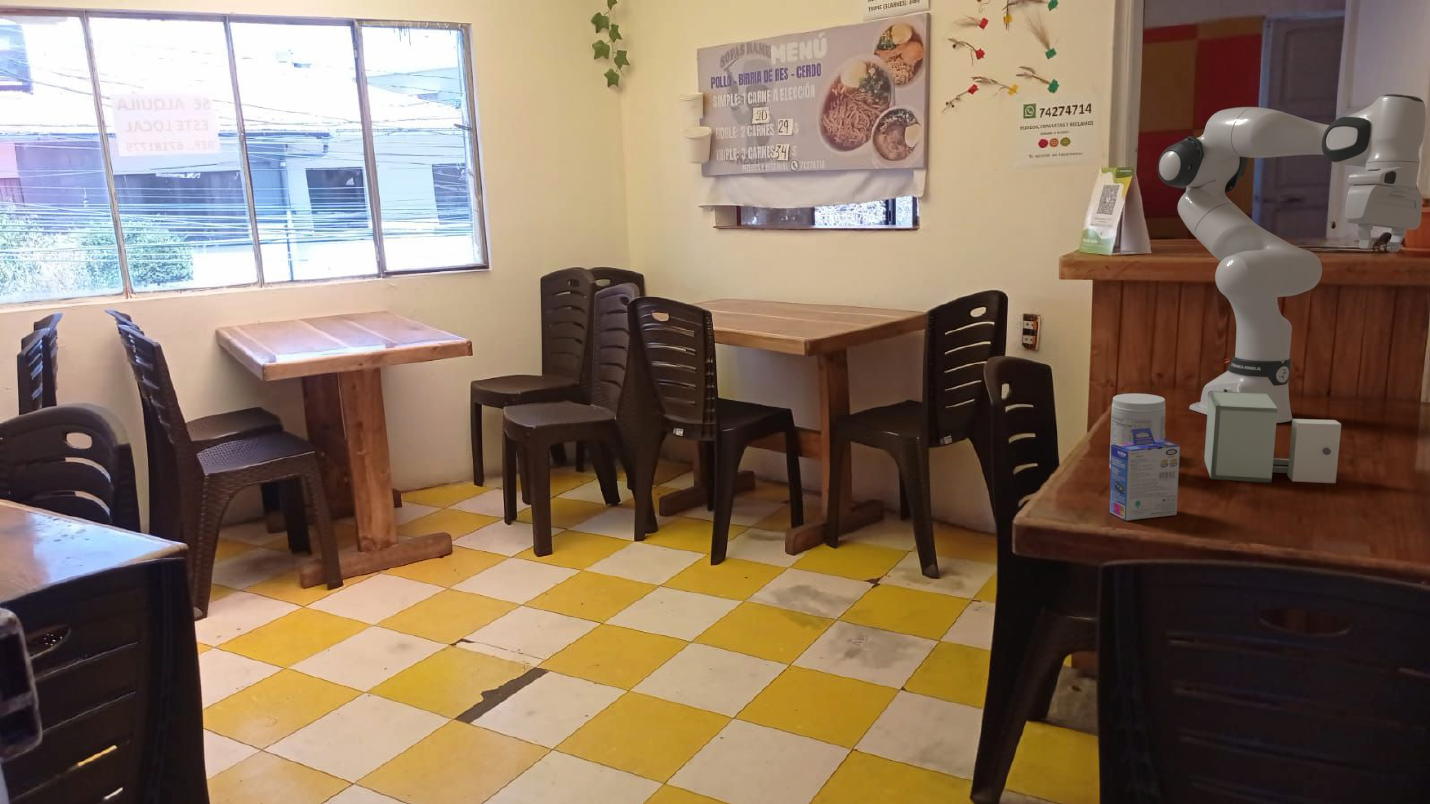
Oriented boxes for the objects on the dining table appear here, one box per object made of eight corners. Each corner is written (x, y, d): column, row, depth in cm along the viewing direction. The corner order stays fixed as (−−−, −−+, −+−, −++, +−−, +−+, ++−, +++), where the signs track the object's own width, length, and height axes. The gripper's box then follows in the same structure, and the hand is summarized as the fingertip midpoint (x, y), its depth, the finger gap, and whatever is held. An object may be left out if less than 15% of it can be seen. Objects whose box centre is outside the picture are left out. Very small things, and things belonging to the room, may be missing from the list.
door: (1329, 477, 183) (1335, 420, 180) (1336, 483, 179) (1342, 425, 177) (1287, 475, 185) (1292, 418, 182) (1293, 482, 181) (1298, 423, 179)
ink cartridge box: (1157, 506, 170) (1162, 424, 167) (1178, 516, 165) (1184, 432, 162) (1106, 511, 168) (1110, 429, 165) (1125, 521, 163) (1130, 437, 160)
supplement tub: (1133, 463, 197) (1137, 390, 194) (1173, 474, 188) (1178, 399, 185) (1097, 470, 193) (1101, 396, 190) (1137, 482, 184) (1141, 405, 181)
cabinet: (1309, 464, 191) (1316, 394, 188) (1324, 486, 178) (1332, 410, 175) (1203, 458, 198) (1208, 390, 195) (1210, 478, 184) (1216, 405, 182)
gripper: (1402, 184, 201) (1391, 252, 203) (1343, 174, 192) (1333, 246, 194) (1436, 183, 196) (1425, 253, 198) (1377, 173, 186) (1366, 247, 188)
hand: (1379, 249), depth 196 cm, fingers open, 8 cm apart
